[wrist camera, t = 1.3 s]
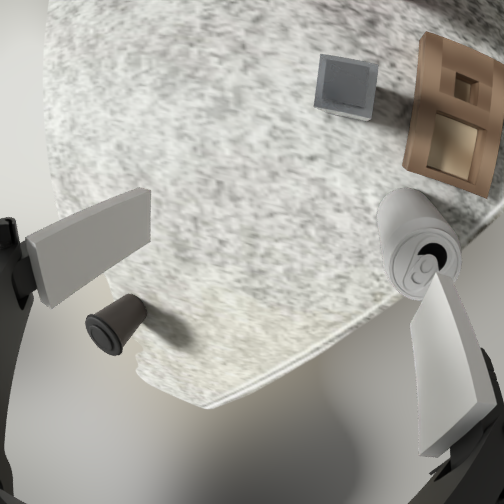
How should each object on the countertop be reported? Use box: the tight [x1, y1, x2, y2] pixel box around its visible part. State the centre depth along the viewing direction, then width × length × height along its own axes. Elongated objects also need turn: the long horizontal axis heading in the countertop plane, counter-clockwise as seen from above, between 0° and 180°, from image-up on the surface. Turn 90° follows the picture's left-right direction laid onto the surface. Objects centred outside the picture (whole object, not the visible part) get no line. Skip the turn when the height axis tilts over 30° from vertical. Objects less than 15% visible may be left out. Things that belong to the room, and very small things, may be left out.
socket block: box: [402, 31, 504, 199], centre depth 20 cm, size 14×9×3 cm, turn 173°
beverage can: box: [377, 188, 462, 301], centre depth 23 cm, size 6×6×12 cm
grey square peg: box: [314, 54, 379, 121], centre depth 20 cm, size 4×4×11 cm
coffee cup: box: [85, 294, 147, 356], centre depth 44 cm, size 8×8×10 cm
